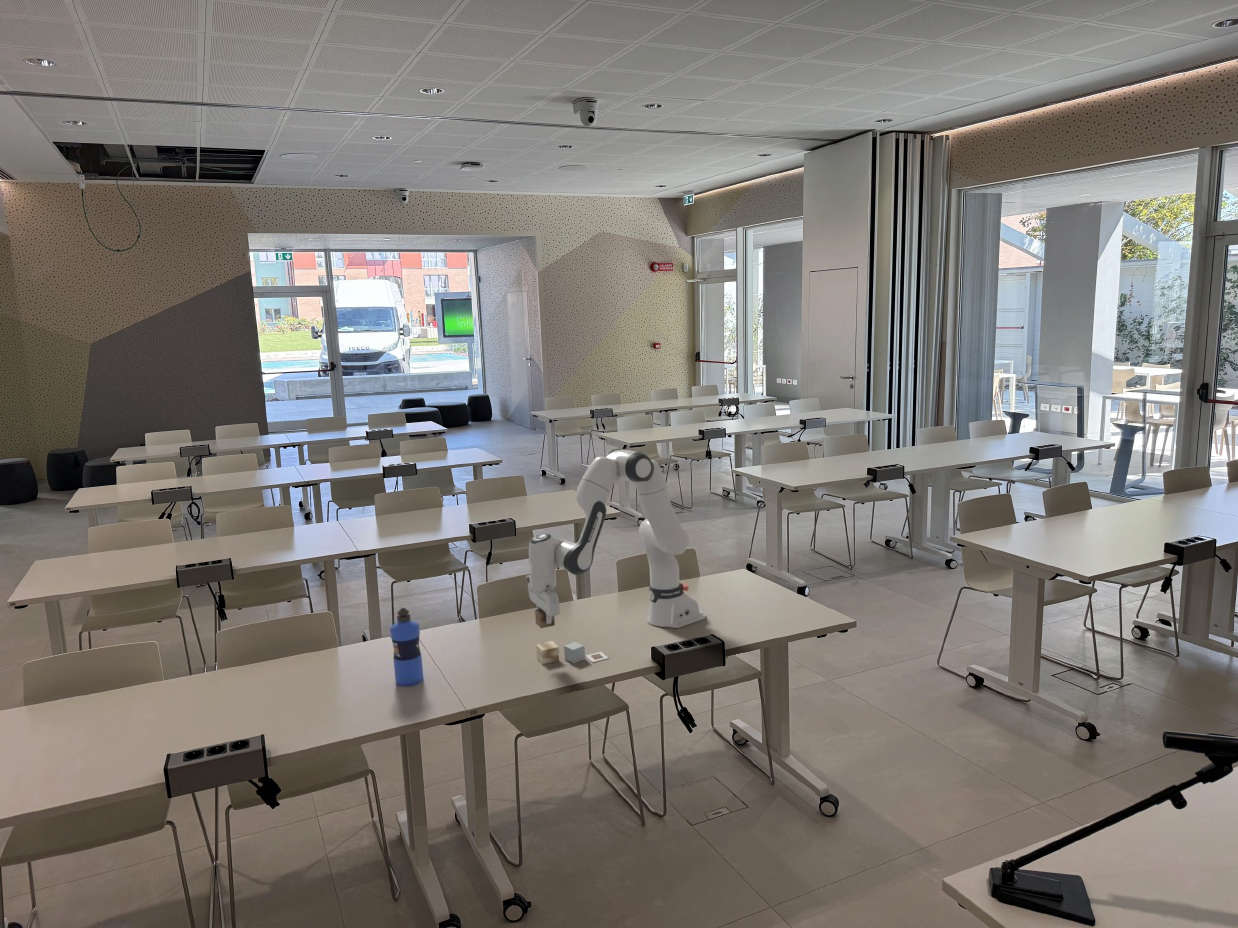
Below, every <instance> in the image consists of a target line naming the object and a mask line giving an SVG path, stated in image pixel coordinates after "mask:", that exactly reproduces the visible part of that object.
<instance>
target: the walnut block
mask: <svg viewBox="0 0 1238 928" xmlns="http://www.w3.org/2000/svg"><path fill="white" fill-rule="evenodd" d="M534 615H535V625H537V626H538V627H539V629H544V628H549V627H550V628H551V627H553V626H555V625H556V624H555V623H556V622H555V616H552V623H551V624H547V623H546V622H545V618H546V613H545V612H544V611H543V610H542V609H537V608H536V609H535V611H534Z"/></svg>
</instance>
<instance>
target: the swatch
mask: <svg viewBox="0 0 1238 928" xmlns="http://www.w3.org/2000/svg"><path fill="white" fill-rule="evenodd" d="M585 658H586V659H587V660H588V661H590V662H591V663H592V664H593V663H597V662H600V661H606V660H609V657H608V656H607V655H605V653H603V652H602V651H598V652H594V653H591V654H585Z"/></svg>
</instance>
